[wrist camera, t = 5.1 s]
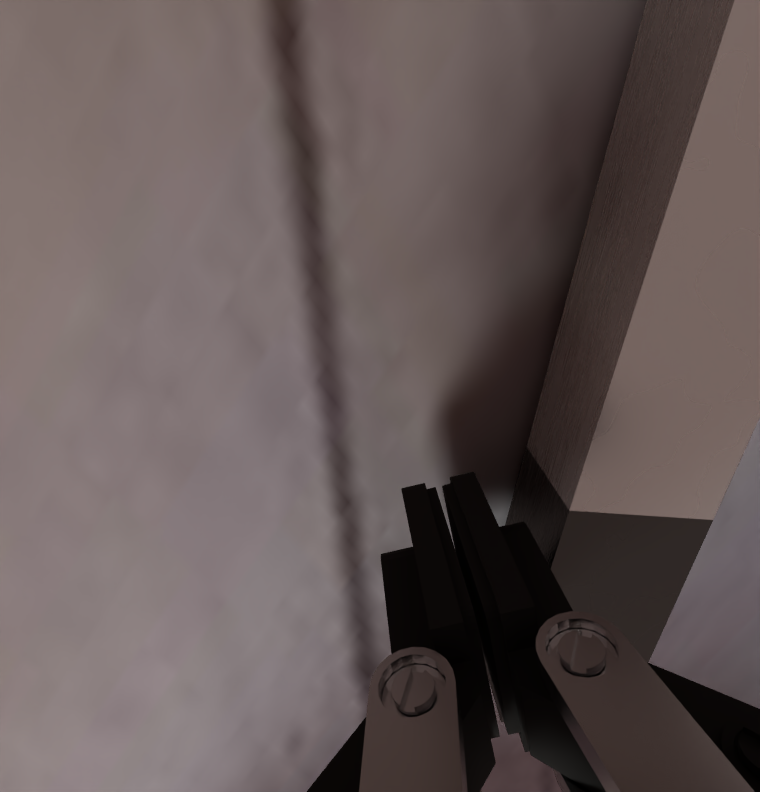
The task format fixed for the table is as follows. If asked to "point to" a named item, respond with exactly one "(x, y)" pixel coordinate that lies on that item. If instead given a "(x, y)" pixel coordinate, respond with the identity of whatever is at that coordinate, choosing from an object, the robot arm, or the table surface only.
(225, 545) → the table surface
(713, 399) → the tongs arm
